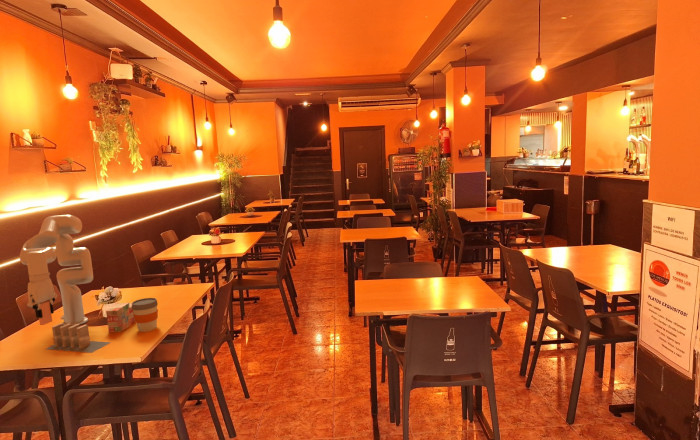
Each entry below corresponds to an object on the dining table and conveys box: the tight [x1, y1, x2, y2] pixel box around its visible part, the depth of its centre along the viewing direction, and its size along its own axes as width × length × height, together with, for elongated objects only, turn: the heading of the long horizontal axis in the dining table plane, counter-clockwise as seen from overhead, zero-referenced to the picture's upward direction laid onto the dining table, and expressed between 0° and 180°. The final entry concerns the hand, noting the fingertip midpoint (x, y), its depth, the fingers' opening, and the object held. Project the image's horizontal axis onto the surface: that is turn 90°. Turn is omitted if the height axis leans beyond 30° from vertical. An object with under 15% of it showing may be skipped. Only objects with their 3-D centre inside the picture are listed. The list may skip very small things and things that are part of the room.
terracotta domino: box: [38, 301, 53, 326], centre depth 215 cm, size 2×5×10 cm, turn 163°
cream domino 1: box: [51, 322, 64, 347], centre depth 228 cm, size 2×5×10 cm, turn 165°
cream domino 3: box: [68, 324, 81, 348], centre depth 225 cm, size 2×5×10 cm, turn 165°
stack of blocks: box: [105, 302, 136, 333], centre depth 252 cm, size 21×6×12 cm, turn 179°
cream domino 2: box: [60, 324, 72, 347], centre depth 227 cm, size 2×5×10 cm, turn 165°
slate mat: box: [45, 340, 112, 354], centre depth 226 cm, size 28×12×1 cm, turn 74°
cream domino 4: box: [77, 324, 91, 348], centre depth 224 cm, size 2×5×10 cm, turn 165°
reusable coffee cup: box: [131, 297, 159, 333], centre depth 244 cm, size 13×13×15 cm
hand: (45, 315), depth 215 cm, fingers closed on terracotta domino, 4 cm apart
